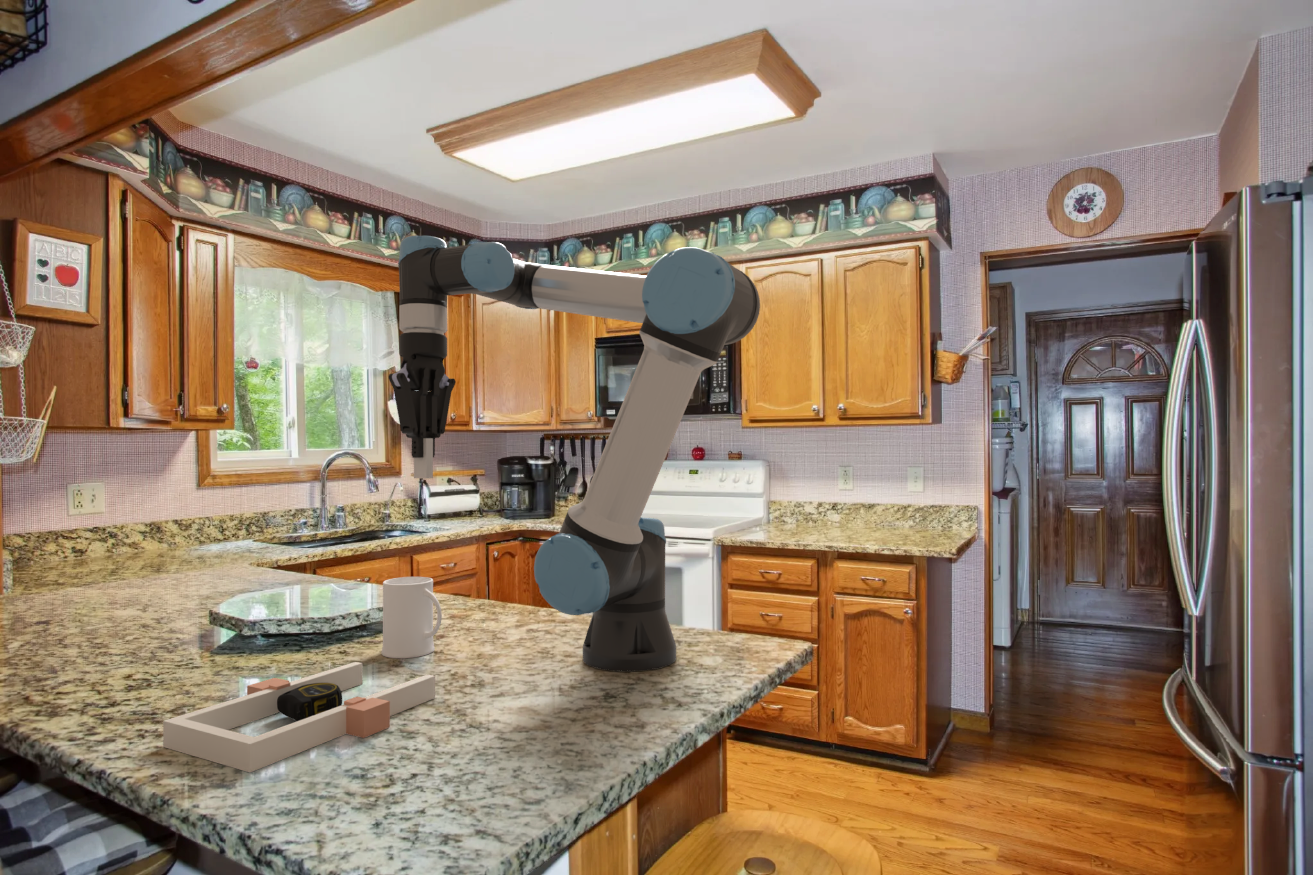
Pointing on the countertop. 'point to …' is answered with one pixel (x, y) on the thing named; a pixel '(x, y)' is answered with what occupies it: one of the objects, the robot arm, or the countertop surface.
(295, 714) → the tape measure
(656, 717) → the countertop surface
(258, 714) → the slotted beam
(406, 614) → the mug
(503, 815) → the countertop surface
